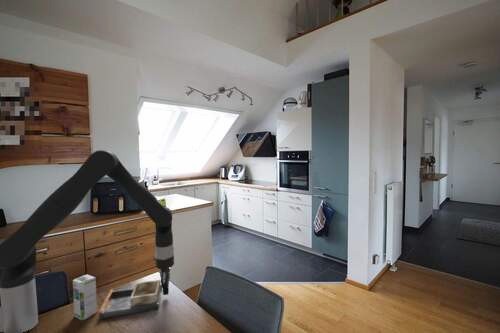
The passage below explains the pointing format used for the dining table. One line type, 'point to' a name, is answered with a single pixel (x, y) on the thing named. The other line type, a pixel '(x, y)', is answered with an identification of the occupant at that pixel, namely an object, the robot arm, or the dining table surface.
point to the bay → (123, 304)
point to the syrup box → (84, 296)
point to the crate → (145, 293)
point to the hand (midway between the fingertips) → (165, 293)
